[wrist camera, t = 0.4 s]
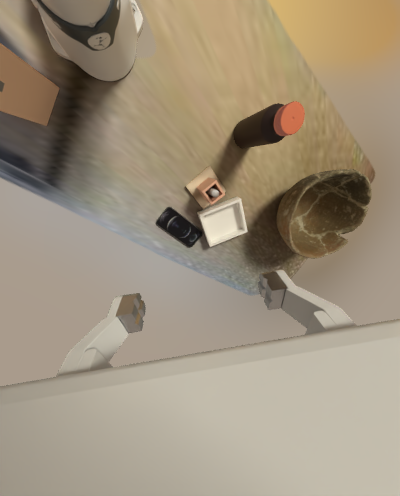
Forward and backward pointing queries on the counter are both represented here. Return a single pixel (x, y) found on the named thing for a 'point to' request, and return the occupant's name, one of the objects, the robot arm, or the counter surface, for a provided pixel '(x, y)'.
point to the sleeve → (206, 185)
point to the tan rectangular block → (25, 89)
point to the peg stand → (198, 180)
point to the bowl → (323, 211)
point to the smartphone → (179, 227)
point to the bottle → (269, 125)
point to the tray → (223, 221)
